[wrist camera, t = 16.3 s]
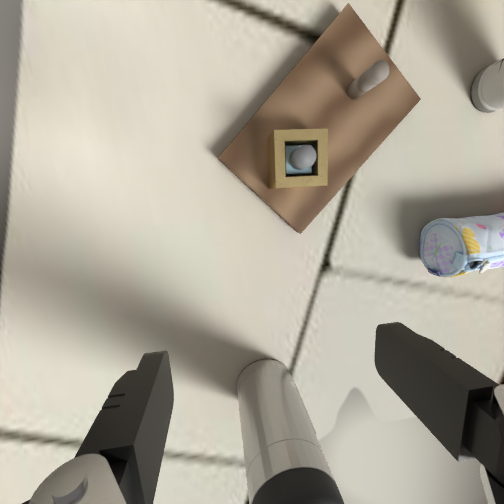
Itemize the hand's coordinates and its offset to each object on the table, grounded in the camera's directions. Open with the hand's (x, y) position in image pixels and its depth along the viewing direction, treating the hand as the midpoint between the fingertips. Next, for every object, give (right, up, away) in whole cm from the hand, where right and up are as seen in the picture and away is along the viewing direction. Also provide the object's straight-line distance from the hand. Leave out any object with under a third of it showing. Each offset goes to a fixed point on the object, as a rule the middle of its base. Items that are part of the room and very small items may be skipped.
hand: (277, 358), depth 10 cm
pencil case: (+35, +7, +33) cm, 49 cm away
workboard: (+8, +21, +26) cm, 34 cm away
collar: (+4, +16, +24) cm, 29 cm away
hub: (+4, +16, +24) cm, 29 cm away
